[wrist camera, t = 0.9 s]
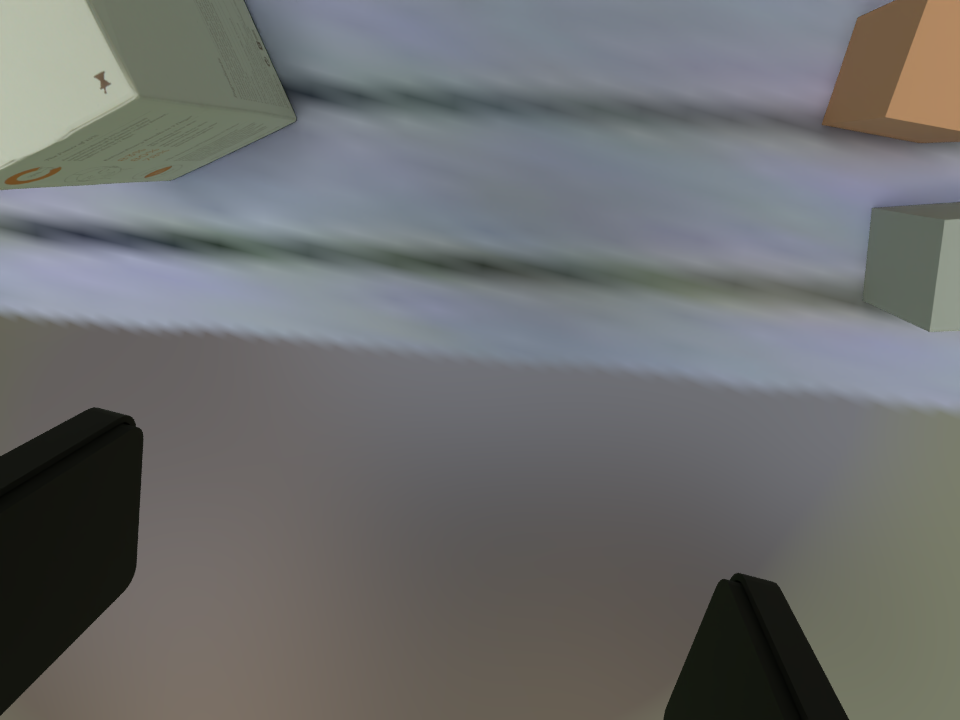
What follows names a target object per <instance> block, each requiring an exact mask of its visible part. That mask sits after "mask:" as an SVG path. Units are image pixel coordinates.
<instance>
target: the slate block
mask: <svg viewBox="0 0 960 720" xmlns="http://www.w3.org/2000/svg"><path fill="white" fill-rule="evenodd" d="M863 301H865V302H867V303H869V304H871V305H873V306H875V307H877V308H880V309H882V310H884V311H886V312H888V313H890V314H892V315H894V316H897V317H899V318H901V319H903V320H905V321H907V322H909V323H912V324H914V325H916V326H918V327H920V328H922V329H924V330H926V331H929V332H940V331H960V202H953V203H938V204H924V205H909V206H894V207H879V208H872V212H871V222H870V232H869V241H868V251H867V261H866V271H865V281H864V290H863Z"/></svg>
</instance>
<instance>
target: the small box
mask: <svg viewBox="0 0 960 720" xmlns="http://www.w3.org/2000/svg"><path fill="white" fill-rule="evenodd" d="M295 121H296V116H295V114H294V111H293V109H292V107H291V105H290V102H289V100H288V98H287V96H286V94H285V91H284V89H283V87H282V84H281V82H280V80H279V78H278V76H277V74H276V71H275V69H274V67H273V65H272V63H271V60H270V58H269V56H268V54H267V51H266V49H265V47H264V45H263V43H262V40H261V38H260V36H259V34H258V32H257V29H256V27H255V25H254V23H253V20H252V18H251V16H250V14H249V11H248V9H247V7H246V4H245V2H244V0H0V190H7V189H22V188H41V187H59V186H79V185H96V184H111V183H128V182H149V181H171V180H173V179H175V178H178V177H180V176H182V175H184V174H186V173H189V172H191V171H193V170H195V169H197V168H199V167H202V166H204V165H206V164H208V163H210V162H212V161H214V160H217V159H219V158H221V157H223V156H225V155H227V154H229V153H231V152H233V151H235V150H237V149H240V148H242V147H244V146H246V145H248V144H250V143H252V142H254V141H256V140H258V139H261V138H263V137H265V136H267V135H269V134H271V133H273V132H275V131H277V130H279V129H281V128H283V127H285V126H287V125H289V124H291V123H293V122H295Z"/></svg>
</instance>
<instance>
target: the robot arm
mask: <svg viewBox="0 0 960 720" xmlns="http://www.w3.org/2000/svg"><path fill="white" fill-rule="evenodd" d="M142 454H143V432H142V430H141V429H140V428H138V427H136V424H135V421H134V419H133V418H132V417H131V416H128V415H124V414H120V413H116V412H112V411H108V410H104V409H101V408H95V407H94V408H90V409H88V410H86V411H84V412H82V413H80V414H78V415H77V416H75V417H73V418H71V419H69V420H67V421H65V422H63V423H62V424H60V425H58V426H56V427H54V428H52V429H50V430H49V431H47V432H45V433H43V434H41V435H39V436H37V437H36V438H34V439H32V440H30V441H28V442H26V443H24V444H23V445H21V446H19V447H17V448H15V449H13V450H11V451H10V452H8V453H6V454H4V455H2V456H0V715H2V714H3V712H4V711H5V710H6V709H8V708H9V707H10V706H11V704H13V703H14V701H15V700H16V699H17V698H18V697H19V696H20V695H21V694H22V693H23V692H24V691H25V690H26V689H27V688H28V687H29V686H30V685H31V684H32V683H33V682H34V681H35V680H36V679H37V678H38V677H39V676H40V675H41V674H42V673H43V672H44V671H45V670H46V669H47V668H48V667H49V666H50V665H51V664H52V663H53V662H54V661H55V660H56V659H57V658H58V657H59V656H60V655H61V654H62V653H63V652H64V651H65V650H66V649H67V648H68V647H69V646H70V645H71V644H72V643H73V642H74V641H75V640H76V639H77V638H78V637H79V636H80V635H81V634H82V633H83V632H84V631H85V630H86V629H87V628H88V627H89V626H90V625H91V624H92V623H93V622H94V621H95V620H96V619H97V618H98V617H99V616H100V615H101V614H102V613H103V612H104V611H105V610H106V609H107V608H108V607H109V606H110V605H111V604H112V603H113V602H114V601H115V600H116V599H117V598H118V597H119V596H120V595H121V594H122V593H123V592H124V591H125V590H126V588H127V587H128V586H129V584H130V582H131V581H132V578H133V576H134V573H135V570H136V563H137V544H138V526H139V508H140V490H141V472H142ZM664 720H849V719H848V717H847V715H846V713H845V711H844V709H843V707H842V706H841V703H840V701H839V700H838V698H837V696H836V694H835V692H834V690H833V688H832V686H831V684H830V683H829V680H828V679H827V677H826V675H825V673H824V671H823V669H822V667H821V665H820V663H819V661H818V660H817V658H816V656H815V654H814V652H813V650H812V648H811V646H810V644H809V643H808V641H807V639H806V637H805V635H804V633H803V631H802V629H801V627H800V625H799V623H798V622H797V619H796V618H795V616H794V614H793V612H792V610H791V608H790V606H789V604H788V602H787V600H786V599H785V597H784V595H783V593H782V591H781V589H780V587H779V586H778V585H777V584H776V583H774V582H771V581H767V580H764V579H760V578H756V577H752V576H749V575H745V574H741V573H737V574H734V575H733V576H732V577H731V579H730V580H726V579H722V580H720V582H719V583H718V584H717V586H716V589H715V591H714V593H713V596H712V598H711V601H710V603H709V605H708V608H707V610H706V613H705V615H704V618H703V620H702V622H701V625H700V627H699V630H698V632H697V634H696V637H695V639H694V642H693V644H692V646H691V649H690V651H689V654H688V656H687V659H686V661H685V664H684V666H683V668H682V671H681V673H680V675H679V678H678V680H677V683H676V685H675V687H674V690H673V692H672V695H671V697H670V700H669V702H668V705H667V707H666V710H665V714H664Z"/></svg>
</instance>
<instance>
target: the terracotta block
mask: <svg viewBox="0 0 960 720" xmlns="http://www.w3.org/2000/svg"><path fill="white" fill-rule="evenodd" d="M822 125H826V126H831V127H837V128H842V129H847V130H853V131H858V132H863V133H869V134H874V135H879V136H884V137H890V138H895V139H900V140H906V141H911V142H916V143H937V142H960V0H895V1H893V2H891V3H889V4H886V5H884V6H882V7H880V8H878V9H876V10H873V11H871V12H869V13H867V14H865V15H862V16H860V17H858V18H857V21H856V24H855V27H854V30H853V33H852V36H851V39H850V42H849V45H848V48H847V51H846V54H845V57H844V60H843V63H842V66H841V69H840V72H839V75H838V78H837V81H836V84H835V87H834V90H833V93H832V96H831V99H830V102H829V104H828V107H827V110H826V113H825V116H824V119H823V122H822Z"/></svg>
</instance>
